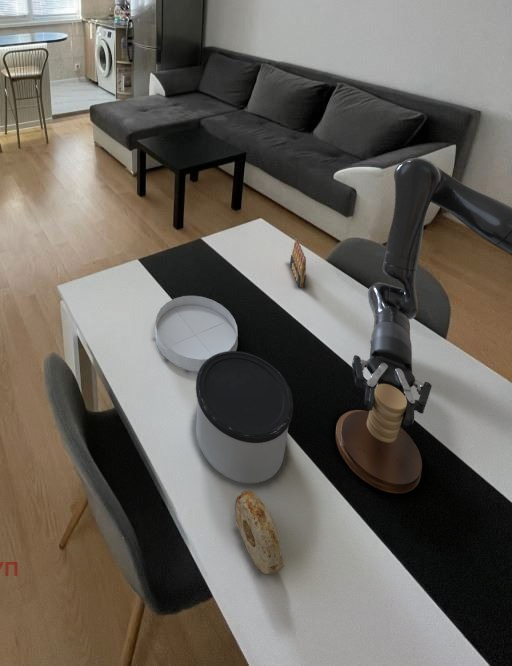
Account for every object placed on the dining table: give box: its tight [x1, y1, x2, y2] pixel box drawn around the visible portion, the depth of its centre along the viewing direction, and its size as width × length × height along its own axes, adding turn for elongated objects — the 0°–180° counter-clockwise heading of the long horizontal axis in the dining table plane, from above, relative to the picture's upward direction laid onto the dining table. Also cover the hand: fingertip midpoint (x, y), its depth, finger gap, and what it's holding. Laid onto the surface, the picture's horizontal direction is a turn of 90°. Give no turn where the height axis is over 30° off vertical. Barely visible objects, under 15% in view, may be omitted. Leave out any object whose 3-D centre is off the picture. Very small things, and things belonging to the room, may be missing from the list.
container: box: [195, 350, 294, 484], centre depth 89 cm, size 19×19×15 cm
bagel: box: [233, 489, 285, 575], centre depth 73 cm, size 10×4×10 cm, turn 19°
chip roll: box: [367, 384, 407, 443], centre depth 83 cm, size 5×5×10 cm
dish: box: [154, 295, 239, 373], centre depth 116 cm, size 22×22×5 cm
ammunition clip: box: [289, 238, 307, 289], centre depth 134 cm, size 11×2×12 cm, turn 172°
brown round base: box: [335, 409, 423, 495], centre depth 87 cm, size 15×15×4 cm
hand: (388, 414), depth 80 cm, fingers closed on chip roll, 5 cm apart
